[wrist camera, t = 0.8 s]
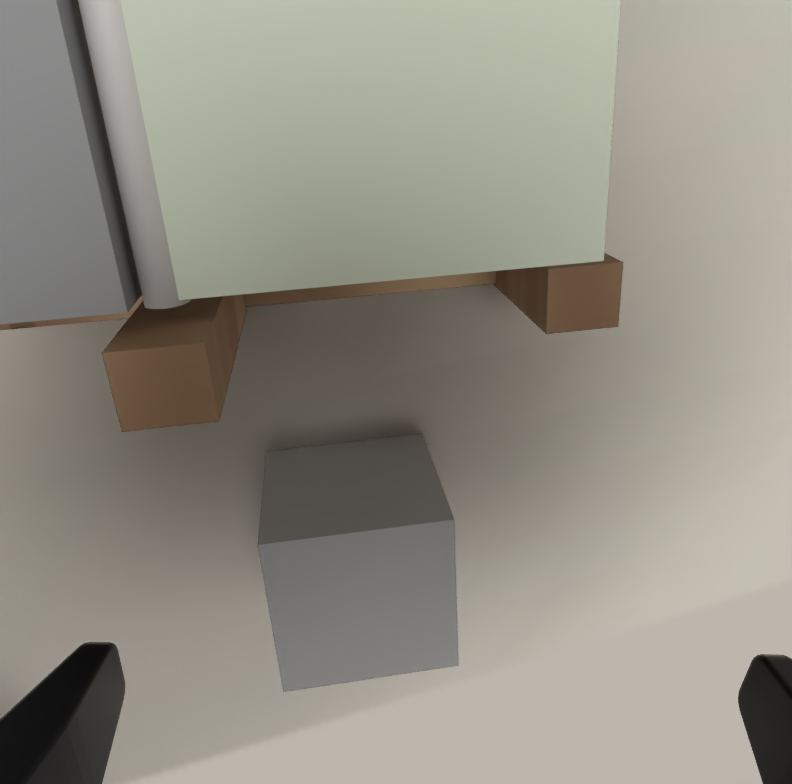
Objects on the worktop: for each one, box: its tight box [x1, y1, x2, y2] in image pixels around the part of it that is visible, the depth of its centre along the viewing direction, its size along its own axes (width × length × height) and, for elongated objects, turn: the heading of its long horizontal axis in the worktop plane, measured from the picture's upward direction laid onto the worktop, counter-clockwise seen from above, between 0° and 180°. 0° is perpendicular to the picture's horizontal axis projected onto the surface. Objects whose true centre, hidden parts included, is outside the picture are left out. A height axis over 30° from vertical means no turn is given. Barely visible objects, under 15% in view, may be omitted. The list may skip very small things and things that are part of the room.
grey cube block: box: [258, 434, 459, 692], centre depth 20 cm, size 5×5×5 cm
